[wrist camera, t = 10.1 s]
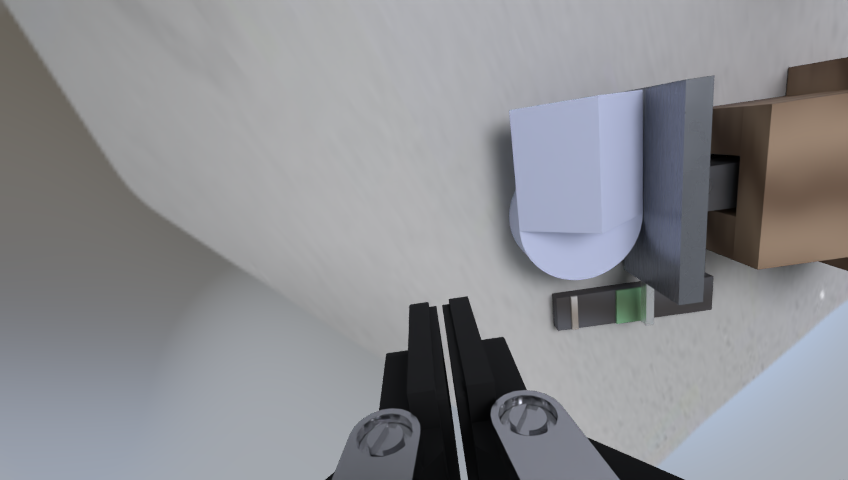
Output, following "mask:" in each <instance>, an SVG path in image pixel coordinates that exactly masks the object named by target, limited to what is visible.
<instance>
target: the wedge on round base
mask: <svg viewBox="0 0 848 480" xmlns="http://www.w3.org/2000/svg"><path fill="white" fill-rule="evenodd" d="M509 114H510V125H511V137H512V148H513V160H514V171H515V183H516V191H515V193H514V195H513V198H512V201H511V205H510V211H509V223H510V229H511V232H512V235H513V237H514V239H515V241H516V243H517V244H518V246H519V247H520V248H521V250H522V251H523V252H524V253H525V254H526V255H527V256H528V257H529V258H530V259H531V261H532V262H533V263H534V264H535V265H536V266H537V267H539V268H540V269H541V270H542V271H544V272H546V273H547V274H549V275H552V276H554V277H557V278H561V279H567V280H582V279H588V278H592V277H596V276H598V275H601V274H603V273H605V272H607V271H608V270H610V269H612V268H613V267H615V266H616V265H617V264H618V263H620V262H621V261H622V260H623V259H624V258H625V257H626V255H627V254H628V253H629V252H630V250H631V249H632V247H633V246H634V244H635V242H636V240H637V238H638V236H639V233H640V230H641V225H642V219H643V90H635V91H628V92H620V93H612V94H605V95H597V96H591V97H585V98H579V99H573V100H567V101H561V102H555V103H549V104H543V105H537V106H531V107H525V108H519V109H514V110H509Z"/></svg>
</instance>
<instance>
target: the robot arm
mask: <svg viewBox="0 0 848 480" xmlns="http://www.w3.org/2000/svg"><path fill="white" fill-rule="evenodd" d="M442 307H443V314H444V321H445V328H446V335H447V342H448V349H449V356H450V362H451V369H452V376H453V383H454V390H455V397H456V403H457V410H458V416H459V423H460V429H461V436H462V442H463V449H464V456H465V462H466V469H467V475H468V480H684V479H682V478H679V477H677V476H674V475H673V474H670V473H668V472H666V471H663V470H661V469H659V468H656V467H654V466H652V465H650V464H647V463H645V462H643V461H640V460H638V459H636V458H633V457H631V456H629V455H627V454H624V453H622V452H620V451H617V450H615V449H613V448H610V447H608V446H606V445H604V444H601V443H599V442H597V441H594V440H592V439H590V438H587V437H586V436H585V434H584V433H583V432H582V431H581V429H580V428H579V427H578V426H577V424H576V423H575V422H574V420H573V419H572V418H571V417H570V415H569V414H568V413H567V411H566V410H565V409H564V408H563V406H562V405H561V404H560V403H559V402H558V401H557V400H556V399H554V398H552V397H551V396H549V395H547V394H545V393H541V392H537V391H530V390H526V387H525V385H524V383H523V380H522V378H521V376H520V373H519V371H518V369H517V366H516V364H515V362H514V359H513V357H512V355H511V352H510V350H509V348H508V345H507V343H506V341H505V339H504V337H499V338H492V339H485V340H481V337H480V334H479V331H478V328H477V325H476V322H475V318H474V315H473V312H472V309H471V306H470V303H469V300H468V297H460V298H453V299H449V304H447V305H442ZM326 480H461V479H460V471H459V464H458V456H457V448H456V440H455V433H454V425H453V419H452V410H451V402H450V395H449V388H448V381H447V375H446V368H445V361H444V354H443V348H442V341H441V334H440V328H439V321H438V314H437V308H436V306H433V307H429V303H428V302H425V303H418V304H411V305H410V306H409V339H408V350H407V351H400V352H393V353H387V354H386V360H385V368H384V376H383V384H382V392H381V400H380V408H379V411H377V412H374V413H372V414H370V415H368V416H367V417H365V418H363V419H362V420H361V421H360V422H359V423H358V424H357V425H356V426H355V427H354V428H353V430H352V432H351V433H350V435H349V438H348V440H347V443H346V445H345V448H344V450H343V453H342V455H341V458H340V460H339V463H338V465H337V468H336V470H335V472H334V473H333V474H332V475H330V476H329V477H328V478H327V479H326Z"/></svg>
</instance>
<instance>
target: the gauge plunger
mask: <svg viewBox="0 0 848 480" xmlns="http://www.w3.org/2000/svg"><path fill="white" fill-rule="evenodd" d="M636 90H643V219H642V225H641V230H640V233H639V236H638V238H637V240H636V242H635V244H634V246H633V247H632V249H631V250H630V252H629V253H628V254H627V255H626V257H625V258H624V270H626V271H627V272H629V273H630V274H632V275H633V276H635V277H636V278H638V279H639V280H641V322H643V323H644V324H645V325H646V326H647V325H654V289H655V290H656V291H658V292H659V293H661V294H662V295H664V296H665V297H667V298H668V299H670V300H671V301H673V302H675V303H676V304H678V305H684V304H691V303H698V302H703V292H704V272H705V253H706V233H707V213H708V211H714V210H721V209H728V208H735V207H737V196H738V181H739V167H740V156H737V155H732V156H725V157H718V158H712V159H710V153H711V133H712V114H713V94H714V76H707V77H700V78H694V79H687V80H682V81H676V82H671V83H666V84H661V85H656V86H651V87H646V88H641V89H636ZM631 91H635V90H631ZM626 92H628V91H626Z"/></svg>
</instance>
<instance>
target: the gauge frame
mask: <svg viewBox="0 0 848 480" xmlns="http://www.w3.org/2000/svg"><path fill="white" fill-rule="evenodd" d="M710 154H723V155H737V156H740V167H739V181H738V196H737V207H735V208H728V209H721V210H714V211H708V213H707V233H706V249H707V250H710V251H712V252H715V253H717V254H720V255H722V256H725V257H727V258H730V259H732V260H735V261H737V262H740V263H742V264H745V265H747V266H750V267H752V268H755V269H757V270H759V269H766V268H773V267H780V266H787V265H794V264H802V263H809V262H816V261H819V262H822V263H825V264H828V265H831V266H834V267H837V268H841V269H844V270H847V271H848V57H846V58H841V59H835V60H829V61H824V62H818V63H812V64H806V65H801V66H795V67H789V70H788V81H787V91H786V96H782V97H775V98H768V99H761V100H754V101H748V102H741V103H734V104H727V105H720V106H714V107H713V114H712V133H711V153H710ZM712 292H713V276H711V275H709V274H707V273H705V272H704V292H703V302H698V303H691V304H684V305H678V304H676V303H675V302H673V301H671V300H670V299H668V298H667V297H665V296H664V295H662V294H661V293H659V292H658V291H656V290H655V289H654V317H661V316H668V315H675V314H683V313H690V312H697V311H704V310H711V309H712ZM553 310H554V325H555V327H556V328H557V329H558V331H560V330H567V329H572V330H576V329H579V328H581V327H588V326H596V325H603V324H610V323H617V324H619V323H627V322H634V321H641V281H639V282H632V283H625V284H618V285H611V286H604V287H596V288H589V289H582V290H575V291H568V292H561V293H554V294H553Z"/></svg>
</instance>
